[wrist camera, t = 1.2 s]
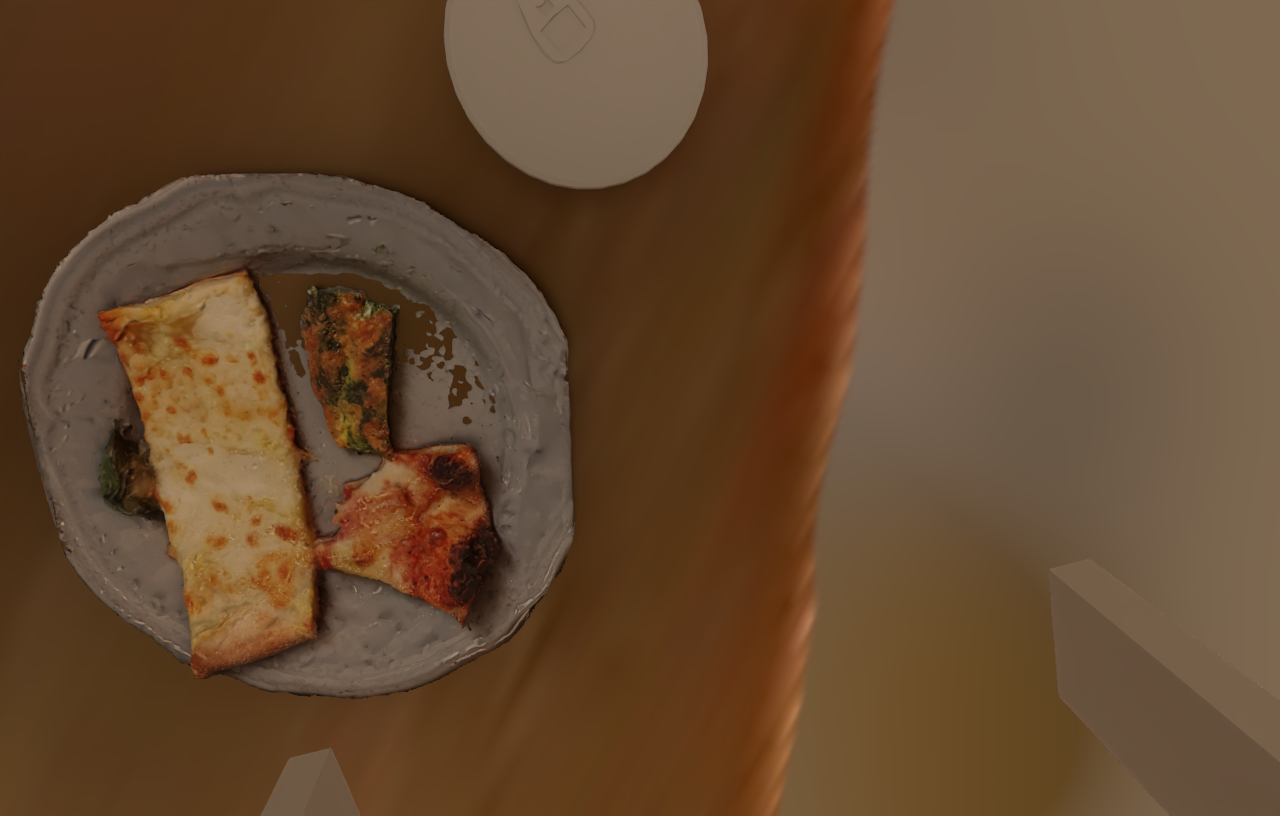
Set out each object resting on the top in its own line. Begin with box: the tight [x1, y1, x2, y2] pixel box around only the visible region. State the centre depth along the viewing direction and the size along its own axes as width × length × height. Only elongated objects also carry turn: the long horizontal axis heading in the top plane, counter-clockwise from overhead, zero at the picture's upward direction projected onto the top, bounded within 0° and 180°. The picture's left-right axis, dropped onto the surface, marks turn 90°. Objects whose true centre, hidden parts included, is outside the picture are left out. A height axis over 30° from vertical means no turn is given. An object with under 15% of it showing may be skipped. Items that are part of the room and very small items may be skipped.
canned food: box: [444, 0, 708, 190], centre depth 28 cm, size 8×8×11 cm
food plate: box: [18, 173, 575, 699], centre depth 35 cm, size 25×23×4 cm
